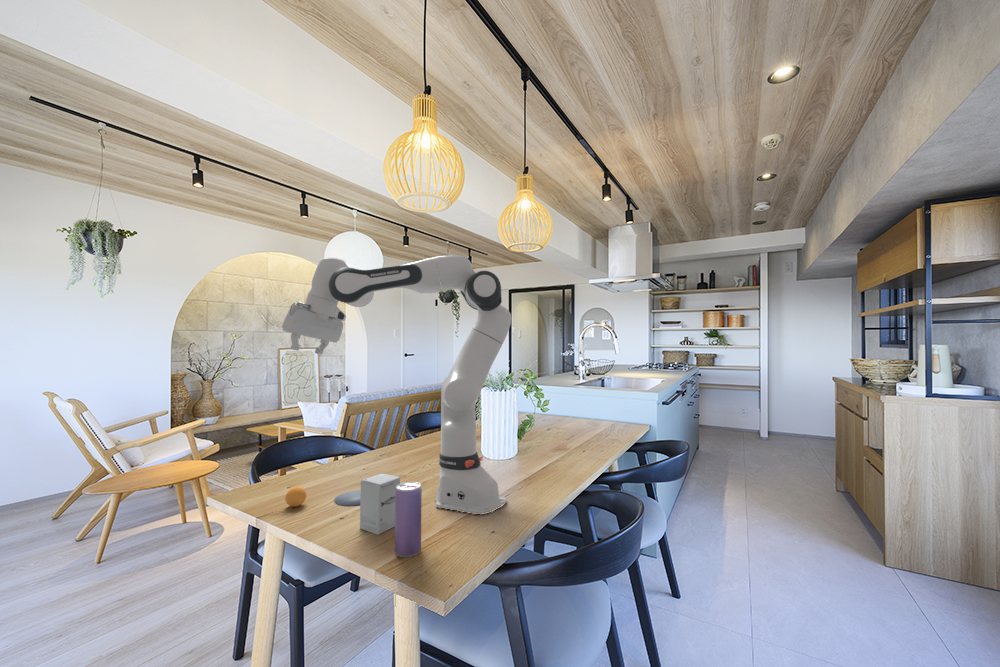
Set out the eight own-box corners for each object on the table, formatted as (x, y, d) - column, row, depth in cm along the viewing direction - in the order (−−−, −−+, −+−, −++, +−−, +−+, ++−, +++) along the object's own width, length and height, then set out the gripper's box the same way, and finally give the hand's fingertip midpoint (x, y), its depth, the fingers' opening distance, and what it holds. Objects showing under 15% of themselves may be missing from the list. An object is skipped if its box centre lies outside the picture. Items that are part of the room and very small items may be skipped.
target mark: (386, 496, 128) (386, 495, 128) (351, 509, 117) (351, 508, 117) (361, 488, 135) (361, 487, 135) (325, 499, 124) (325, 499, 124)
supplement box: (378, 535, 101) (379, 484, 101) (359, 528, 104) (359, 479, 105) (400, 524, 107) (400, 476, 107) (381, 518, 111) (381, 472, 111)
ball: (310, 505, 120) (310, 486, 121) (291, 511, 116) (291, 491, 116) (299, 501, 123) (300, 482, 124) (281, 506, 119) (281, 487, 119)
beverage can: (414, 559, 89) (415, 491, 90) (389, 556, 90) (390, 489, 91) (425, 546, 95) (425, 482, 95) (401, 544, 96) (402, 480, 97)
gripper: (301, 301, 113) (286, 349, 111) (349, 317, 132) (337, 358, 130) (285, 298, 115) (270, 344, 113) (334, 313, 134) (322, 353, 133)
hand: (306, 352), depth 122 cm, fingers open, 8 cm apart
